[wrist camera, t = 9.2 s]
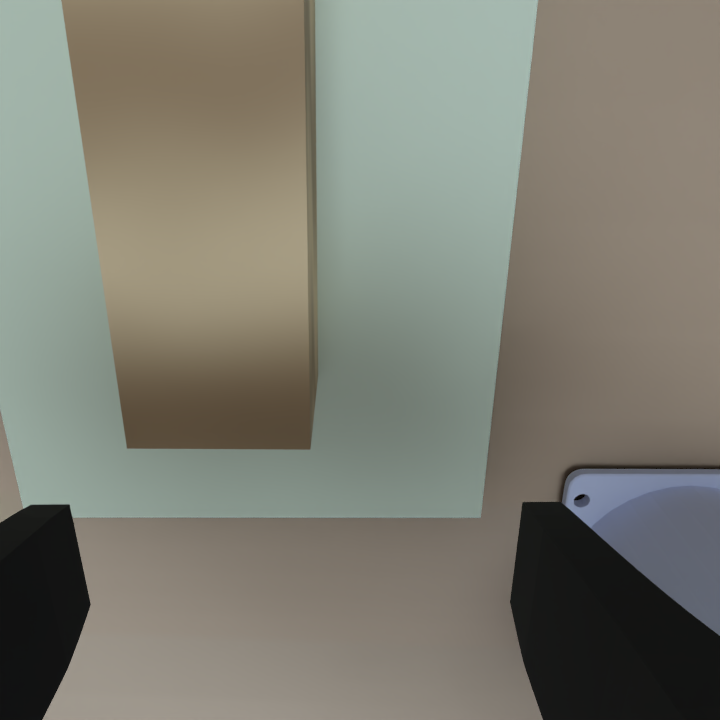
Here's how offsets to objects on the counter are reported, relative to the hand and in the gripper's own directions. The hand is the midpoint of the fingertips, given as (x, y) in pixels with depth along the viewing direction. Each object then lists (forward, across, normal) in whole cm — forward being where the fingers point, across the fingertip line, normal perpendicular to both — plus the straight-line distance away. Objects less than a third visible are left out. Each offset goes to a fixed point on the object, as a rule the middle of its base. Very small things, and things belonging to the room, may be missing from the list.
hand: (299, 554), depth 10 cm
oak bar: (+8, +2, -7) cm, 11 cm away
